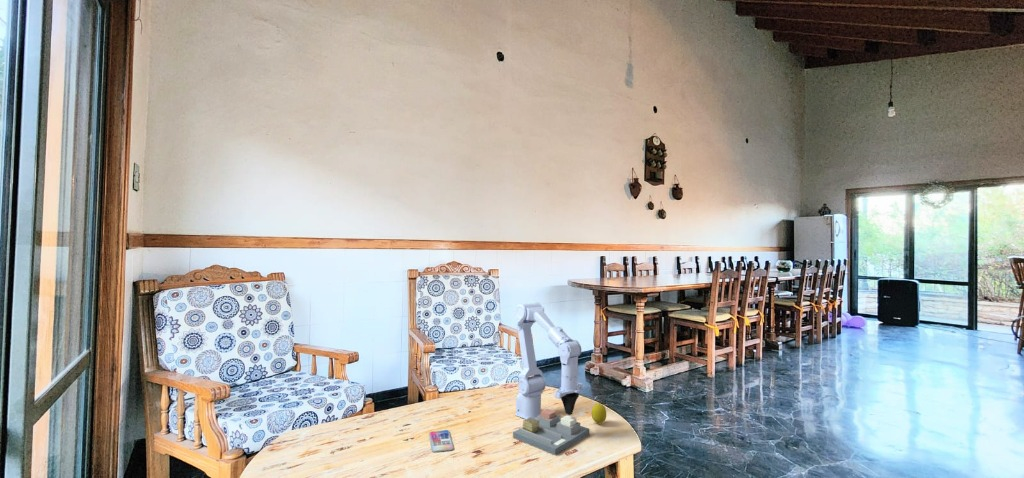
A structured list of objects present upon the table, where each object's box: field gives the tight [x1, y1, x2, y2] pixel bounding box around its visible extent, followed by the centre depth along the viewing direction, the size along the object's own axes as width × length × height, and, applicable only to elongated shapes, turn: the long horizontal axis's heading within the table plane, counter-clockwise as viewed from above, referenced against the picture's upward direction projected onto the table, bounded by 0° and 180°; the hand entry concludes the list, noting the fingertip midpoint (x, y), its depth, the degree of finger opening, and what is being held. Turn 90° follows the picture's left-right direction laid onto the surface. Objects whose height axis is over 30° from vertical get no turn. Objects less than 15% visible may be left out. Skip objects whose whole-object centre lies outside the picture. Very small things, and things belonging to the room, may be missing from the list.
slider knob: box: [522, 417, 539, 433], centre depth 153 cm, size 4×4×4 cm
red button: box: [541, 408, 557, 420], centre depth 161 cm, size 4×4×2 cm
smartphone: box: [428, 429, 455, 454], centre depth 148 cm, size 7×1×15 cm
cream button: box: [560, 414, 577, 427], centre depth 155 cm, size 4×4×2 cm
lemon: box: [591, 402, 607, 425], centre depth 165 cm, size 6×6×8 cm
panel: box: [512, 414, 591, 456], centre depth 154 cm, size 18×21×4 cm
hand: (568, 413), depth 155 cm, fingers closed
